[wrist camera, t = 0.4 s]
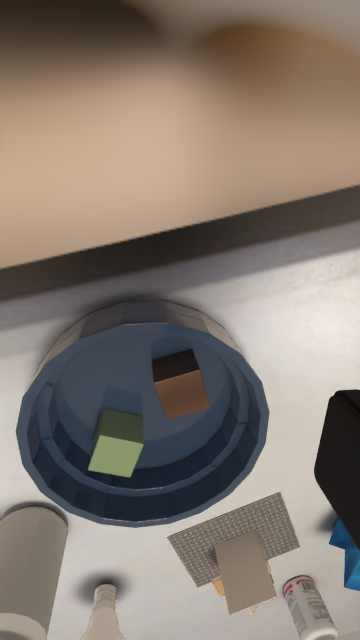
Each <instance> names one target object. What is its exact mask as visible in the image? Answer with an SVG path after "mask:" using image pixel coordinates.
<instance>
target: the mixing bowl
mask: <svg viewBox="0 0 360 640" xmlns="http://www.w3.org/2000/svg"><path fill="white" fill-rule="evenodd" d="M189 349H193V352H194V354H195V357H196V360H197V362H198V365H199V368H200V370H201V374H202V378H203V382H204V385H205V389H206V393H207V397H208V400H209V404H210V408H207V409H203V410H200V411H197V412H193V413H190V414H187V415H183V416H180V417H176V418H173V419H170V420H166V417H165V414H164V411H163V408H162V406H161V403H160V400H159V397H158V394H157V391H156V388H155V385H154V379H153V369H152V360H155V359H159V358H162V357H166V356H169V355H172V354H176V353H179V352H183V351H186V350H189ZM103 408H107V409H112V410H116V411H121V412H125V413H130V414H134V415H139V416H143V437H144V445H143V447H142V450H141V452H140V455H139V457H138V460H137V462H136V465H135V467H134V470H133V472H132V475H131V477H124V476H119V475H113V474H107V473H102V472H96V471H90V470H88V465H89V459H90V453H91V447H92V441H93V437H94V434H95V432H96V429H97V426H98V423H99V420H100V417H101V414H102V411H103ZM268 419H269V409H268V405H267V401H266V397H265V393H264V389H263V385H262V382H261V380H260V379H259V377H258V376H257V374H256V373H255V371H254V370H253V368H252V367H251V365H250V364H249V362H248V361H247V360H246V358H245V357H244V355H243V354H242V352H241V351H240V349H239V348H238V347H237V345H236V344H235V343H234V341H233V340H232V338H231V337H230V336H229V334H228V333H227V332H226V330H225V329H224V328H223V327H221V326H220V325H218V324H217V323H215V322H214V321H212V320H211V319H209V318H208V317H207V316H205V315H204V314H202V313H201V312H199V311H198V310H195V309H191V308H188V307H184V306H181V305H177V304H174V303H170V302H166V301H162V300H159V301H126V302H122V303H119V304H116V305H113V306H110V307H107V308H104V309H101V310H98V311H95V312H92V313H89V314H88V315H87V316H85V317H84V318H83V319H81V320H80V321H79V322H77V323H76V324H75V325H73V326H72V327H71V328H69V329H68V330H67V331H65V332H64V333H63V334H61V335H60V336H59V338H58V339H57V341H56V342H55V344H54V345H53V347H52V348H51V350H50V351H49V353H48V354H47V356H46V357H45V359H44V360H43V362H42V363H41V365H40V367H39V369H38V370H37V372H36V374H35V376H34V378H33V379H32V381H31V383H30V385H29V387H28V389H27V390H26V392H25V394H24V396H23V398H22V403H21V408H20V413H19V418H18V422H17V427H16V436H17V440H18V445H19V450H20V455H21V459H22V464H23V466H24V468H25V469H26V471H27V472H28V474H29V475H30V477H31V478H32V480H33V481H34V483H35V484H36V486H37V487H38V489H39V490H40V492H41V493H43V494H44V495H45V496H47V497H48V498H49V499H51V500H52V501H53V502H55V503H56V504H58V505H59V506H60V507H62V508H63V509H64V510H66V511H67V512H69V513H72V514H74V515H77V516H80V517H82V518H85V519H88V520H91V521H93V522H96V523H99V524H105V525H114V526H124V527H133V528H134V527H135V528H138V527H146V526H155V525H163V524H170V523H173V522H176V521H179V520H182V519H185V518H187V517H190V516H193V515H196V514H199V513H201V512H203V511H204V510H206V509H208V508H209V507H211V506H212V505H214V504H215V503H217V502H219V501H220V500H222V499H223V498H225V497H227V496H228V495H229V494H231V493H232V492H233V491H234V489H235V488H236V487H237V486H238V485H239V484H240V483H241V482H242V481H243V480H244V479H245V478H246V477H247V476H248V475H249V474H250V472H251V471H252V469H253V467H254V465H255V463H256V461H257V459H258V457H259V455H260V453H261V451H262V449H263V447H264V445H265V443H266V435H267V427H268Z"/></svg>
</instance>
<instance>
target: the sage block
mask: <svg viewBox="0 0 360 640" xmlns="http://www.w3.org/2000/svg"><path fill="white" fill-rule="evenodd" d="M143 445H144V437H143V416H139V415H134V414H130V413H125V412H121V411H116V410H112V409H107V408H103V411H102V414H101V417H100V420H99V423H98V426H97V429H96V432H95V434H94V437H93V441H92V447H91V453H90V459H89V465H88V470H90V471H96V472H102V473H107V474H113V475H119V476H124V477H131V475H132V472H133V470H134V467H135V465H136V462H137V460H138V457H139V455H140V452H141V450H142V447H143Z"/></svg>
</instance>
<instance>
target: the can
mask: <svg viewBox="0 0 360 640" xmlns="http://www.w3.org/2000/svg"><path fill="white" fill-rule="evenodd" d="M67 534H68V530H67V526H66V524H65V522H64V521H63V520H62V518H61V517H59V516H58V515H57V514H56V513H55V512H53V511H52V510H50V509H47V508H44V507H36V506H33V507H25V508H23V509H20V510H17V511H15V512H12V513H10V514H8V515H7V516H6V517H4V518H3V519H2V520H1V521H0V640H46V639H47V635H48V629H49V624H50V619H51V614H52V609H53V604H54V599H55V594H56V589H57V584H58V579H59V574H60V569H61V564H62V559H63V554H64V549H65V544H66V539H67Z"/></svg>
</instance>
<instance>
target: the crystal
mask: <svg viewBox="0 0 360 640" xmlns="http://www.w3.org/2000/svg"><path fill="white" fill-rule="evenodd" d="M329 544H330V545H333V546H336V547H339V548H342V549H345V572H344V587H345V588H349V589H353V590H357V591H360V551H359V549H358V547H357V546H356V544H355V543H354V541H353V539H352V538H351V536H350V535H349V533H348V531H347V530H346V528H345V526H344V525H343V523H342V522H341V520H340V518H338V519H337V521H336V524H335V527H334V530H333V533H332V536H331V539H330V542H329Z"/></svg>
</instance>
